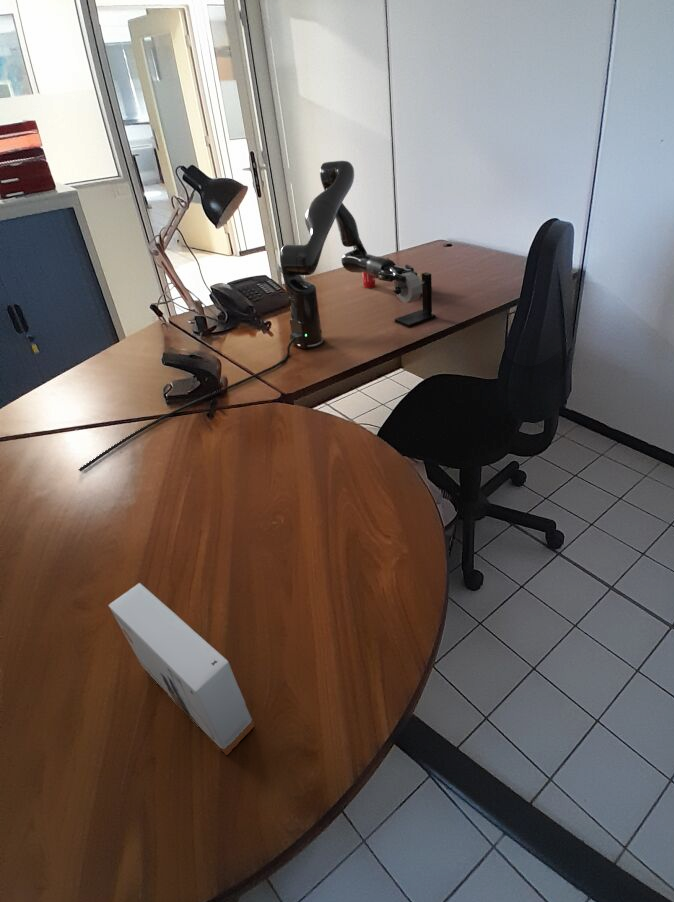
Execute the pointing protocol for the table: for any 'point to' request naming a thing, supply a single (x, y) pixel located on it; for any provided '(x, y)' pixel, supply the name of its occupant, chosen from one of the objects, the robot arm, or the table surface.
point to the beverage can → (368, 280)
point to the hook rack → (423, 314)
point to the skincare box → (183, 664)
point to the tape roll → (409, 287)
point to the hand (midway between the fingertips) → (410, 277)
